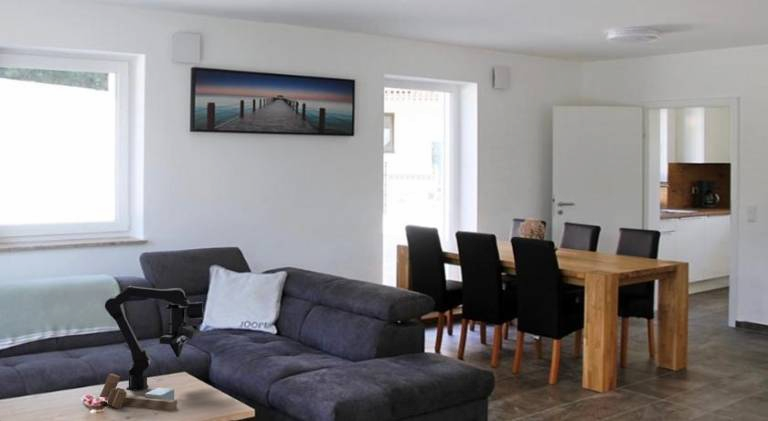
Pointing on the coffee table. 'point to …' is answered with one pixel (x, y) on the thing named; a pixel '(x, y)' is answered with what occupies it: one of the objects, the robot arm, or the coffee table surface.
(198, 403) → the coffee table surface
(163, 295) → the robot arm
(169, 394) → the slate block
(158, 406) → the brown wooden bar
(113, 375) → the wooden block set
